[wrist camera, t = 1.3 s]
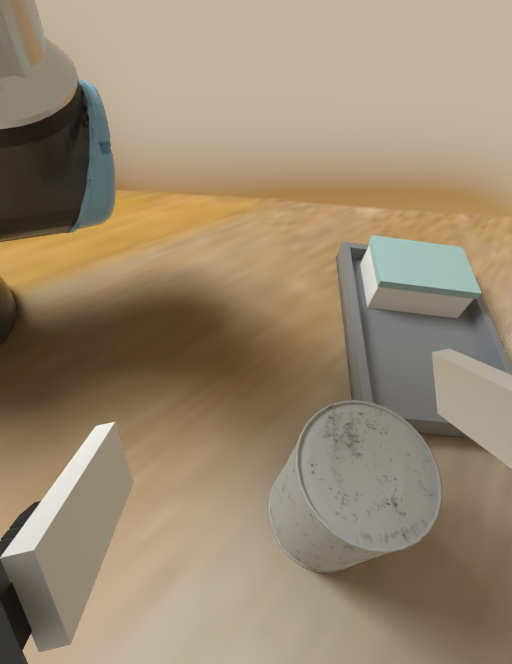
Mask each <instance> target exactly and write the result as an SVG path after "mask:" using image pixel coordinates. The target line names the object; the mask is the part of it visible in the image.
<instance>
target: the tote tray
mask: <svg viewBox="0 0 512 664" xmlns="http://www.w3.org/2000/svg"><path fill="white" fill-rule="evenodd" d="M368 246H369V245H364V244H357V243H349V242H342V244H341V246H340V249H339V252H338V254H337V257H336V261H337V270H338V279H339V288H340V297H341V306H342V315H343V324H344V333H345V342H346V351H347V360H348V369H349V378H350V387H351V396H352V400H359V401H366V402H371V403H374V404H377V405H380V406H383V407H385V408H387V409H389V410H391V411H393V412H395V413H396V414H398V415H399V416H401V417H402V418H403V419H404V420H406V421H407V422H408V423H410V424H411V425H412V426H413V427H414V429H415V430H416V431H417V432H418V433H425V434H435V435H445V436H455V437H465V438H470V437H468V436H467V435H466V434H464V433H463V432H462V431H460V430H459V429H458V428H456V427H455V426H454V425H452V424H451V423H450V422H449V421H447V420H446V419H445V418H443V417H442V416H441V415H439V414H438V413H437V402H436V392H435V382H434V371H433V361H432V352H436V351H440V350H445V349H452V350H454V351H456V352H459V353H461V354H464V355H466V356H468V357H471V358H473V359H475V360H478V361H480V362H482V363H485V364H487V365H489V366H492V367H494V368H496V369H499V370H501V371H503V372H506V373H508V374H510V375H512V366H511V363H510V361H509V359H508V356H507V354H506V351H505V349H504V347H503V344H502V342H501V340H500V337H499V335H498V332H497V330H496V328H495V325H494V323H493V321H492V318H491V316H490V313H489V311H488V309H487V306H486V304H485V302H484V299H483V297H482V294H481V295H480V296H479V297H478V298H477V299H473V300H472V302H471V303H470V304H469V305H468V306H467V307H466V309H465V310H464V311H463V312H462V313H461V314H460V316H459V317H458V318H450V317H442V316H433V315H425V314H417V313H408V312H400V311H392V310H383V309H375V308H367V303H366V297H365V291H364V285H363V279H362V273H361V267H360V264H361V262H362V259H363V257H364V255H365V253H366V251H367V248H368Z"/></svg>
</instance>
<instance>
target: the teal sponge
mask: <svg viewBox="0 0 512 664" xmlns="http://www.w3.org/2000/svg"><path fill="white" fill-rule="evenodd" d="M360 267H361V273H362V279H363V285H364V291H365V297H366V303H367V308H375V309H383V310H392V311H400V312H408V313H417V314H425V315H433V316H442V317H450V318H458V317H459V316H460V314H461V313H462V312H463V311H464V310H465V309H466V307H467V306H468V305H469V304H470V303H471V302H472V300H473V299H477V298H478V297H479V296H480V295H481V294H482V293H481V290H480V288H479V286H478V283H477V281H476V279H475V276H474V274H473V271H472V269H471V267H470V264H469V262H468V260H467V257H466V255H465V252H464V250H463V248H462V247H457V246H450V245H442V244H434V243H427V242H419V241H412V240H404V239H396V238H389V237H381V236H374V235H371V237H370V239H369V246H368V248H367V251H366V253H365V255H364V257H363V259H362V262H361V264H360Z"/></svg>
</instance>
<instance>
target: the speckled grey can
mask: <svg viewBox="0 0 512 664" xmlns="http://www.w3.org/2000/svg"><path fill="white" fill-rule="evenodd" d="M441 503H442V482H441V478H440V473H439V468H438V466H437V463H436V461H435V458H434V456H433V454H432V451H431V450H430V448H429V447H428V445H427V444H426V442H425V441H424V439H423V437H422V436H421V435H420V434H419V433H418V432H417V431H416V430H415V429H414V427H413V426H412V425H411V424H410V423H408V422H407V421H406V420H404V419H403V418H402V417H401V416H399V415H398V414H396V413H395V412H393V411H391V410H389V409H387V408H385V407H383V406H380V405H377V404H374V403H371V402H366V401H359V400H349V401H340V402H337V403H334V404H330V405H327V406H326V407H324V408H323V409H321V410H319V411H318V412H316V413H315V414H314V415H313V416H312V417H311V419H310V420H309V421H308V422H307V423H306V425H305V426H304V428H303V430H302V432H301V434H300V436H299V439H298V442H297V444H296V446H295V447H294V449H293V451H292V453H291V455H290V457H289V458H288V460H287V462H286V464H285V466H284V467H283V469H282V471H281V473H280V474H279V475H278V476H277V478H276V480H275V482H274V484H273V485H272V488H271V492H270V496H269V505H268V513H269V520H270V525H271V528H272V530H273V533H274V536H275V538H276V540H277V541H278V543H279V544H280V546H281V548H282V549H283V550H284V551H285V552H286V554H287V555H288V556H289V557H290V558H291V559H292V560H294V561H295V562H297V563H298V564H300V565H301V566H303V567H305V568H307V569H310V570H313V571H315V572H323V573H332V572H338V571H342V570H344V569H346V568H348V567H351V566H353V565H356V564H359V563H361V562H364V561H367V560H370V559H373V558H376V557H379V556H382V555H385V554H388V553H390V552H396V551H402V550H405V549H407V548H409V547H411V546H413V545H415V544H417V543H419V542H420V541H421V540H422V539H423V538H424V537H425V536H426V535H427V534H428V533H429V532H430V531H431V529H432V527H433V525H434V523H435V522H436V520H437V518H438V515H439V511H440V507H441Z"/></svg>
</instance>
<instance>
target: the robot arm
mask: <svg viewBox="0 0 512 664" xmlns="http://www.w3.org/2000/svg"><path fill="white" fill-rule="evenodd" d="M110 146H111V144H110V133H109V127H108V122H107V118H106V114H105V110H104V106H103V103H102V100H101V97H100V95H99V93H98V90H97V89H96V88H95V86H94V85H93V84H91V83H89V82H85V81H83V80H79V78H78V77H77V73H76V69H75V66H74V64H73V62H72V61H71V59H70V58H69V56H68V55H67V54H66V53H65V52H64V51H63V50H61V49H60V48H59V47H58V46H56V45H55V44H54V43H53V42H51V41H50V40H49V39H48V38H46V37H45V36H44V33H43V29H42V25H41V21H40V18H39V14H38V10H37V6H36V3H35V0H0V242H4V241H11V240H18V239H25V238H32V237H38V236H45V235H52V234H59V233H71V232H74V231H76V230H77V229H81V228H86V227H90V226H95V225H99V224H102V223H104V222H105V221H107V220H108V219H109V217H110V216H111V214H112V212H113V209H114V205H115V171H114V162H113V155H112V152H111V149H110ZM15 316H16V303H15V299H14V297H13V295H12V293H11V291H10V290H9V288H8V286H7V285H6V283H5V282H4V280H3V279H2V278H1V277H0V344H1V343H2V341H3V340H4V339H5V338H6V336H7V335H8V333H9V332H10V330H11V328H12V326H13V323H14V320H15ZM432 361H433V371H434V382H435V392H436V402H437V413H438V414H439V415H441V416H442V417H443V418H445V419H446V420H447V421H449V422H450V423H451V424H452V425H454V426H455V427H456V428H458V429H459V430H460V431H462V432H463V433H464V434H466V435H467V436H468V437H470V438H471V439H472V440H474V441H475V442H476V443H478V444H479V445H480V446H482V447H483V448H484V449H486V450H487V451H488V452H490V453H491V454H492V455H494V456H495V457H496V458H498V459H499V460H500V461H502V462H503V463H504V464H506V465H507V466H508V467H510V468H511V469H512V375H510V374H508V373H506V372H503V371H501V370H499V369H496V368H494V367H492V366H489V365H487V364H485V363H482V362H480V361H478V360H475V359H473V358H471V357H468V356H466V355H464V354H461V353H459V352H456V351H454V350H452V349H445V350H440V351H436V352H432ZM132 485H133V479H132V476H131V472H130V469H129V466H128V462H127V459H126V456H125V453H124V449H123V446H122V443H121V439H120V436H119V433H118V430H117V426H116V423H115V422H111V423H107V424H102V425H98V426H95V428H94V429H93V431H92V432H91V433H90V435H89V436H88V437H87V439H86V440H85V442H84V443H83V444H82V446H81V447H80V448H79V450H78V451H77V453H76V454H75V455H74V457H73V458H72V459H71V461H70V462H69V464H68V465H67V466H66V468H65V469H64V470H63V472H62V473H61V475H60V476H59V477H58V479H57V480H56V481H55V483H54V484H53V486H52V487H51V488H50V490H49V491H48V492H47V494H46V495H45V497H44V498H43V499H42V501H39V502H35V503H33V504H32V505H31V506H30V507H29V508H27V509H26V510H25V511H24V512H23V513H21V514H20V515H19V516H18V518H17V519H16V520H15V522H14V523H13V524H12V525H11V527H10V530H8V531H7V532H6V533H5V535H4V536H3V537H2V538H1V541H0V664H28V663H27V661H26V658H25V656H24V654H23V651H22V650H23V648H24V646H25V644H26V642H27V640H28V638H29V636H30V634H32V636H33V639H34V641H35V644H36V646H37V648H38V651H39V652H41V651H45V650H49V649H54V648H58V647H62V646H66V645H70V644H71V642H72V640H73V637H74V634H75V632H76V629H77V627H78V624H79V621H80V619H81V616H82V614H83V611H84V609H85V606H86V603H87V601H88V598H89V596H90V593H91V590H92V588H93V585H94V583H95V580H96V578H97V575H98V572H99V570H100V567H101V565H102V562H103V559H104V557H105V554H106V552H107V549H108V547H109V544H110V541H111V539H112V536H113V534H114V531H115V528H116V526H117V523H118V521H119V518H120V516H121V513H122V510H123V508H124V505H125V503H126V500H127V497H128V495H129V492H130V490H131V487H132Z"/></svg>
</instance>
